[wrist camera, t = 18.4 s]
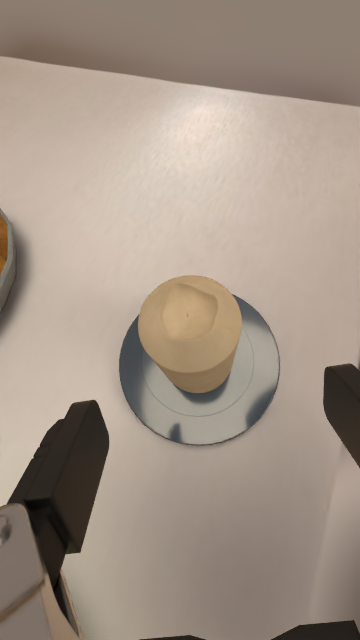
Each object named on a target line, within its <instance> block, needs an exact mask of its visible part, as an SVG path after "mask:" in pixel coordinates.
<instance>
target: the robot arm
mask: <svg viewBox="0 0 360 640" xmlns="http://www.w3.org/2000/svg"><path fill="white" fill-rule="evenodd" d="M323 405H324V411H325V414H326V417H327V419H328V421H329V423H330V424H331V426H332V427H333V429H334V430H335V432H336V433H337V435H338V436H339V438H340V439H341V441H342V442H343V444H344V445H345V447H346V448H347V449H348V451H349V453H350V454H351V456H352V457H353V458H354V460H355V461H356V463H357V465H358V466H359V468H360V371H359V370H358V369H357V368H356V367H355V366H354V365H352V364H343V365H336V366H329V367H326V368H325V372H324V398H323ZM108 450H109V435H108V431H107V428H106V425H105V422H104V419H103V417H102V414H101V411H100V408H99V405H98V403H97V402H96V401H95V400H89V401H83V402H76V403H73V404H72V405H71V406H70V408H69V410H68V412H67V414H66V416H65V418H64V419H60V420H58V421H57V422H56V423H55V424H54V425H53V426H52V427H51V428H50V429H49V430H48V431H47V433H46V434H45V436H44V438H43V440H42V442H41V443H40V447H38V449H37V451H36V452H35V454H34V458H33V459H32V460H31V461H30V463H29V465H28V467H27V469H26V470H25V472H24V474H23V476H22V478H21V479H20V481H19V483H18V485H17V487H16V488H15V490H14V492H13V494H12V496H11V497H10V499H9V501H8V503H7V504H6V505H3V506H1V507H0V640H84V637H83V634H82V630H81V627H80V624H79V621H78V618H77V615H76V612H75V609H74V605H73V602H72V599H71V596H70V593H69V590H68V587H67V584H66V580H65V577H64V574H63V572H62V570H61V567H62V564H63V560H64V557H65V554H72V553H80V552H81V548H82V545H83V541H84V537H85V534H86V530H87V526H88V523H89V519H90V515H91V512H92V508H93V505H94V501H95V497H96V494H97V490H98V486H99V483H100V479H101V475H102V472H103V468H104V464H105V461H106V457H107V454H108ZM141 640H205V639H202V638H198V637H195V636H191V635H185V636H174V637H163V638H152V639H141ZM271 640H360V634H359V631H358V629H357V626H356V624H355V621H354V620H353V621H341V622H331V623H319V624H308V625H299V626H297V627H295V628H293V629H291V630H289V631H287V632H285V633H283V634H281V635H279V636H277V637H275V638H273V639H271Z"/></svg>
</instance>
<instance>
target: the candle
mask: <svg viewBox="0 0 360 640" xmlns="http://www.w3.org/2000/svg"><path fill="white" fill-rule="evenodd" d="M241 329H242V317H241V311H240V308H239V305H238V303H237V301H236V299H235V298H234V297H233V295H232V294H231V293H230V292H229V291H228V290H227V289H226V288H225V287H224V286H223V285H221V284H220V283H218V282H216V281H214V280H212V279H209V278H206V277H202V276H181V277H177V278H174V279H171V280H168V281H167V282H165V283H163V284H161V285H160V286H158V287H157V288H156V289H155V290H154V291H153V292H152V293H151V294H150V295H149V296H148V297H147V299H146V300H145V302H144V304H143V306H142V308H141V311H140V314H139V319H138V333H139V338H140V341H141V343H142V345H143V348H144V349H145V351H146V352H147V354H148V355H149V356H150V357H151V359H152V360H153V361H154V362H155V363H156V364H157V366H158V367H159V368H160V369H161V370H162V372H163V373H164V374H165V375H166V376H167V377H168V379H169V380H170V381H171V382H172V383H173V384H174V385H175V386H177V387H178V388H180V389H181V390H184V391H186V392H189V393H206V392H209V391H212V390H214V389H216V388H217V387H219V386H220V385H221V384H222V383H223V382H224V381H225V380H226V378H227V377H228V375H229V373H230V370H231V368H232V364H233V361H234V357H235V353H236V349H237V346H238V342H239V338H240V334H241Z"/></svg>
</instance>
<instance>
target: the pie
mask: <svg viewBox="0 0 360 640" xmlns="http://www.w3.org/2000/svg"><path fill="white" fill-rule="evenodd" d="M15 276H16V248H15V245H14V242H13V239H12V223H11V222H10V221H9V219H8V218H7V217H6V215H5V214H4V213H3V211H2V210H1V209H0V313H1V311H2V310H3V307H4V305H5V302H6V299H7V297H8V294H9V292H10V289H11V287H12V284H13V282H14V279H15Z"/></svg>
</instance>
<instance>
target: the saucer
mask: <svg viewBox="0 0 360 640" xmlns="http://www.w3.org/2000/svg"><path fill="white" fill-rule="evenodd" d="M232 295H233V294H232ZM233 297H234V298H235V299H236V301H237V303H238V305H239V308H240V311H241V317H242V329H241V334H240V338H239V342H238V346H237V349H236V353H235V357H234V361H233V364H232V368H231V370H230V373H229V375H228V377H227V378H226V380H225V381H224V382H223V383H222V384H221V385H220V386H219V387H217V388H216V389H214V390H212V391H209V392H206V393H189V392H186V391H184V390H181V389H180V388H178V387H177V386H175V385H174V384H173V383H172V382H171V381H170V380H169V379H168V377H167V376H166V375H165V374H164V373H163V372H162V370H161V369H160V368H159V367H158V366H157V364H156V363H155V362H154V361H153V360H152V359H151V357H150V356H149V355H148V354H147V352H146V351H145V349H144V348H143V345H142V343H141V341H140V338H139V333H138V319H139V315H138V316H137V318H136V319H135V320H134V322H133V323H132V325H131V326H130V328H129V330H128V332H127V334H126V336H125V339H124V341H123V345H122V348H121V353H120V359H119V373H120V381H121V385H122V389H123V392H124V395H125V397H126V400H127V402H128V403H129V405H130V407H131V409H132V410H133V412H134V413H135V414H136V416H137V417H138V418H139V419H140V420H141V421H142V422H143V423H144V424H145V425H146V426H147V427H148V428H150V429H151V430H152V431H154V432H155V433H157V434H159V435H160V436H162V437H164V438H166V439H169V440H171V441H174V442H177V443H182V444H186V445H196V446H201V445H212V444H217V443H222V442H224V441H227V440H230V439H233V438H235V437H236V436H238V435H240V434H242V433H244V432H245V431H246V430H248V429H249V428H250V427H252V426H253V425H254V424H255V423H256V422H257V421H258V420H259V419H260V418H261V416H262V415H263V414H264V413H265V411H266V410H267V408H268V407H269V405H270V403H271V401H272V399H273V397H274V394H275V392H276V389H277V384H278V380H279V371H280V361H279V353H278V348H277V344H276V341H275V338H274V336H273V334H272V332H271V330H270V328H269V326H268V325H267V323H266V322H265V320H264V319H263V317H262V316H261V315H260V314H259V313H258V312H257V311H256V310H255V309H254V308H253V307H252V306H251V305H249V304H248V303H247V302H245V301H244V300H242V299H241V298H239V297H237V296H235V295H233Z"/></svg>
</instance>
